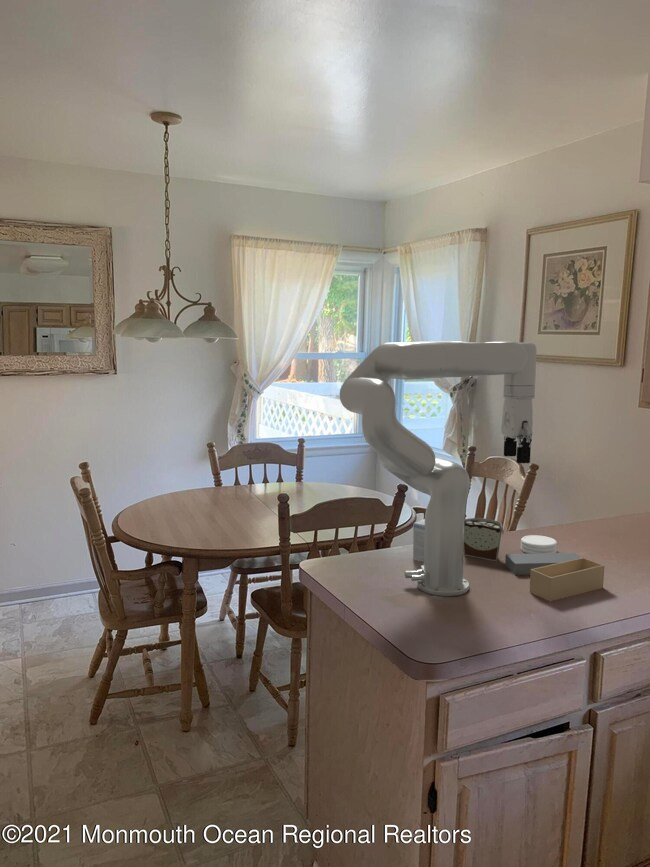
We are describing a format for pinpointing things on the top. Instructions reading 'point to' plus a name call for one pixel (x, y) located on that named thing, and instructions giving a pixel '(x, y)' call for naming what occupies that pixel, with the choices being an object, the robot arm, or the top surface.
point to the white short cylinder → (538, 544)
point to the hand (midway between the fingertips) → (516, 459)
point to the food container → (482, 538)
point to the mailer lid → (535, 561)
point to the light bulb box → (418, 540)
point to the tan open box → (566, 578)
